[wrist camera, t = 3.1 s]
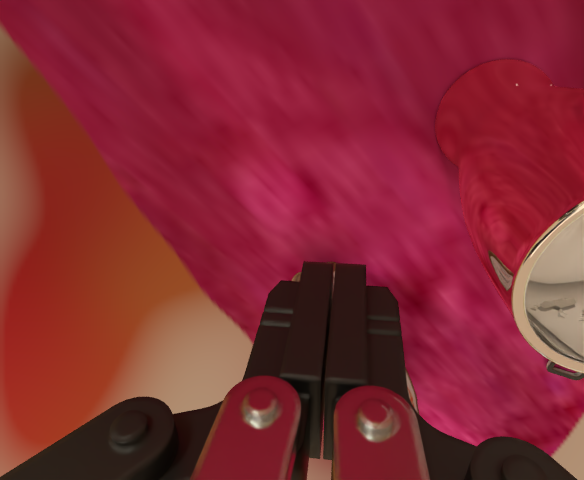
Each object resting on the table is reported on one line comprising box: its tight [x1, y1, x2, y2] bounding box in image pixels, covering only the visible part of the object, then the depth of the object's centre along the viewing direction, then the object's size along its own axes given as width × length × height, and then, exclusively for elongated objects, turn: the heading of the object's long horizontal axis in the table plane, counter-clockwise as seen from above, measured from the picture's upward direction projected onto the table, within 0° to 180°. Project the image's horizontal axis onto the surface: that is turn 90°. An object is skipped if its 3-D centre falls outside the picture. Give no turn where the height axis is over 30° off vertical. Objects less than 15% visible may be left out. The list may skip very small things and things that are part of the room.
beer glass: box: [435, 59, 584, 373], centre depth 17 cm, size 7×7×15 cm
